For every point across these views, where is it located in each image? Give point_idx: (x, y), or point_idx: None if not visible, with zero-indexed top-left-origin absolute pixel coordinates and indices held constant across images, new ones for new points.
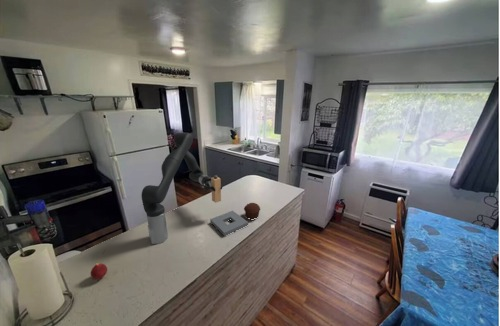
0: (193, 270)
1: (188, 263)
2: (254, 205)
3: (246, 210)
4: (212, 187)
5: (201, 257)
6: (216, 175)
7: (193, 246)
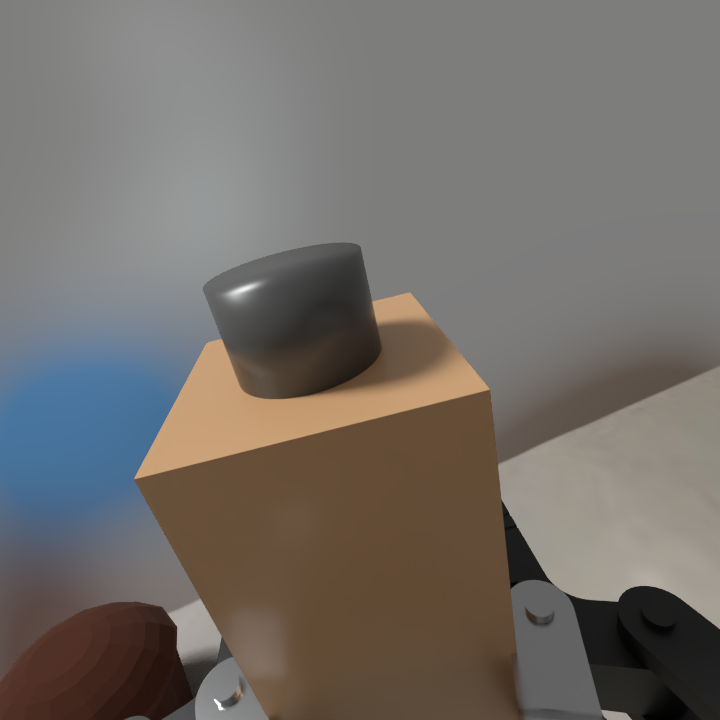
0: (648, 422)
1: (690, 452)
2: (71, 623)
3: (165, 651)
4: None
5: (621, 466)
6: (219, 288)
7: (706, 549)
